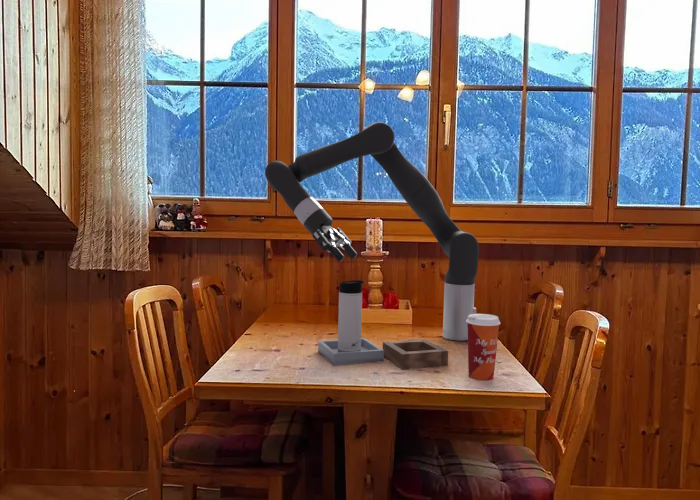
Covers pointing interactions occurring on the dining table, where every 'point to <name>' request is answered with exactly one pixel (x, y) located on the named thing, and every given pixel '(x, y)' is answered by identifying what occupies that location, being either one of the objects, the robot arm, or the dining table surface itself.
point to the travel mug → (350, 316)
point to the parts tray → (350, 353)
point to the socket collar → (415, 354)
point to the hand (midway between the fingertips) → (348, 258)
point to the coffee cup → (482, 345)
